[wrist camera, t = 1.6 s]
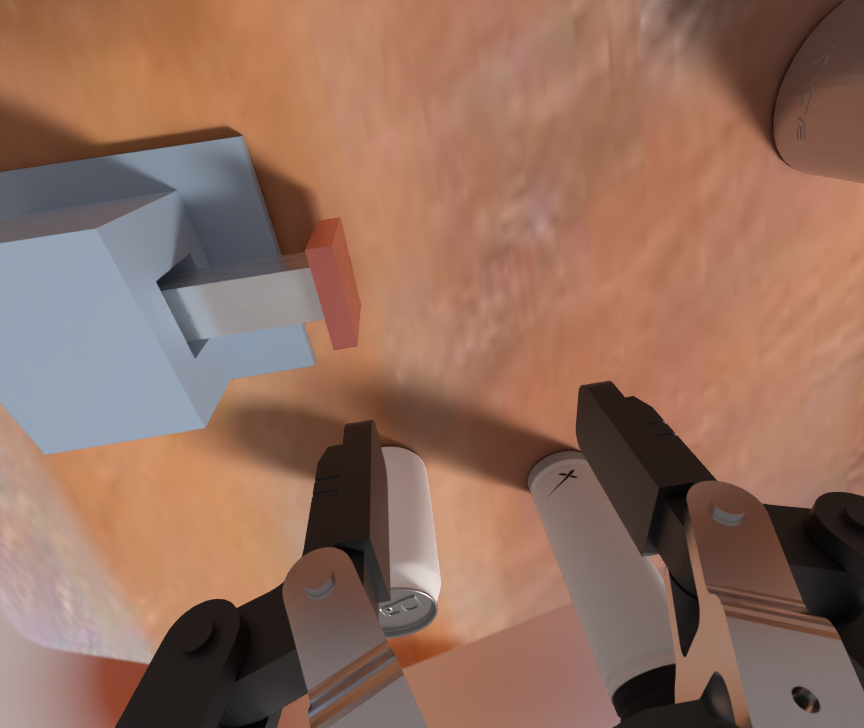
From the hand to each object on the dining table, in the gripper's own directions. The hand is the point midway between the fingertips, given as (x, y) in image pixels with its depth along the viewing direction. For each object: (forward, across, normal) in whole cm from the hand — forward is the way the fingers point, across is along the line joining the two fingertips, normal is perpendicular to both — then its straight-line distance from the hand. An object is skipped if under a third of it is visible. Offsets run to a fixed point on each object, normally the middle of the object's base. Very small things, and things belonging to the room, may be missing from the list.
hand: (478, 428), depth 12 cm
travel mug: (+18, -10, +23) cm, 31 cm away
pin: (+16, +11, 0) cm, 19 cm away
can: (+18, +6, +19) cm, 27 cm away
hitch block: (+17, +16, 0) cm, 24 cm away
